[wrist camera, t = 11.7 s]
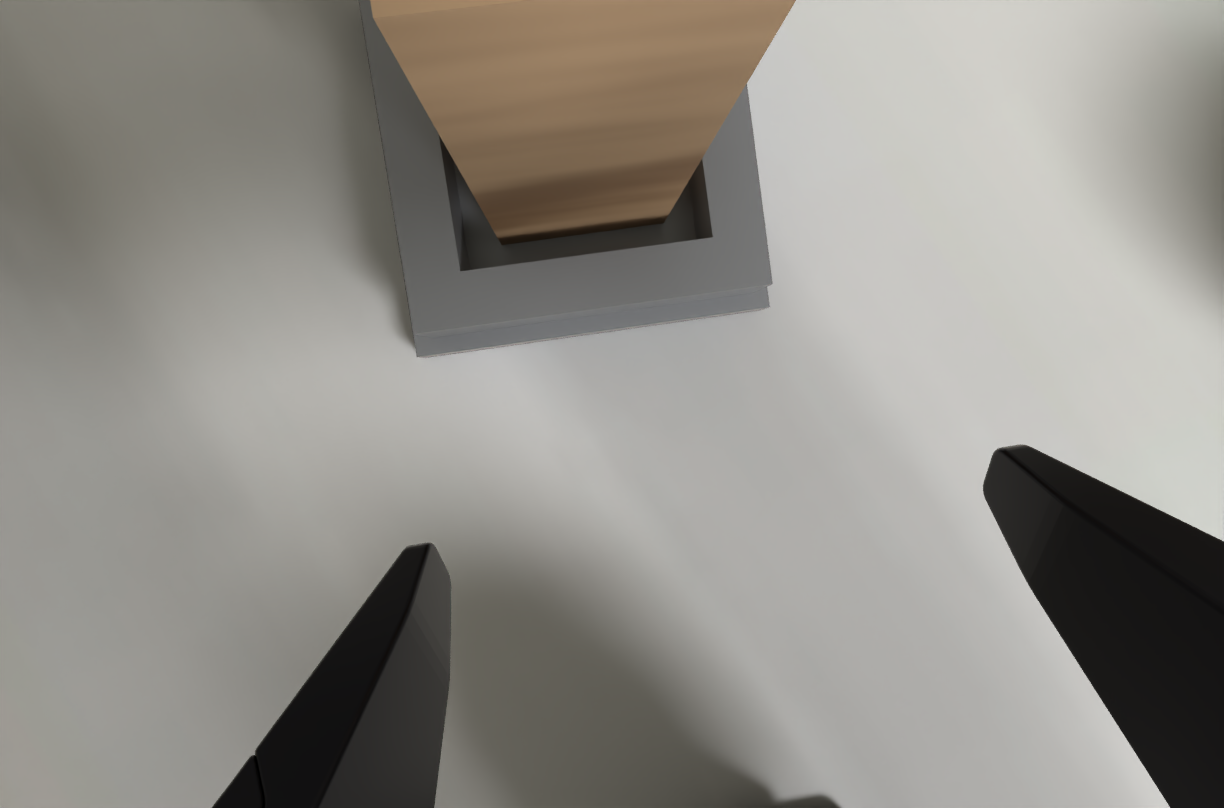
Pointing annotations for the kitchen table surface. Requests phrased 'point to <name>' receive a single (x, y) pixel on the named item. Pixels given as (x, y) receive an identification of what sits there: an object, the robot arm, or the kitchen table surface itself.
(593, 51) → the tall cardboard box
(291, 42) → the kitchen table surface
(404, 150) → the square gray tray
